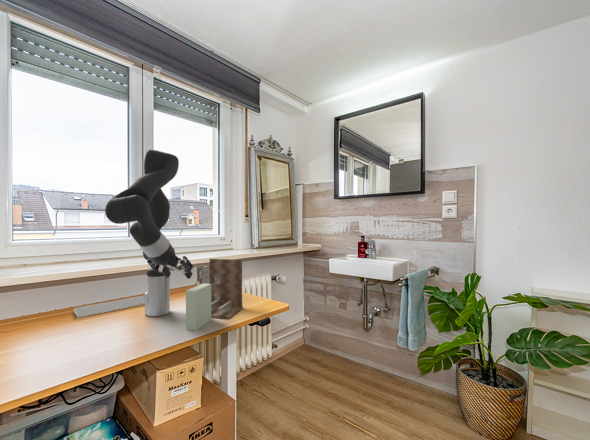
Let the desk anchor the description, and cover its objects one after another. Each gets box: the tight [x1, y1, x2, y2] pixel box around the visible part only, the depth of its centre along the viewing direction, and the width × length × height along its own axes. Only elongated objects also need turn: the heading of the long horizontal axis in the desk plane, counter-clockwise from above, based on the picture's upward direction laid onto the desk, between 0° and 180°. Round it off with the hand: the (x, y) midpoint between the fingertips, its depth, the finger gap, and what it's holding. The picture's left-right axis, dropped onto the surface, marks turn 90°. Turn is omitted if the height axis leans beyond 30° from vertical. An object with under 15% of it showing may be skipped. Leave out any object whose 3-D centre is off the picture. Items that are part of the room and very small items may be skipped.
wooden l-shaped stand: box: [209, 258, 244, 320], centre depth 129 cm, size 16×15×23 cm
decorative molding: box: [73, 294, 145, 319], centre depth 137 cm, size 34×5×10 cm
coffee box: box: [194, 265, 210, 287], centre depth 155 cm, size 9×6×16 cm
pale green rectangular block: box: [185, 284, 212, 332], centre depth 114 cm, size 5×12×15 cm, turn 168°
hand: (179, 276), depth 101 cm, fingers open, 8 cm apart
